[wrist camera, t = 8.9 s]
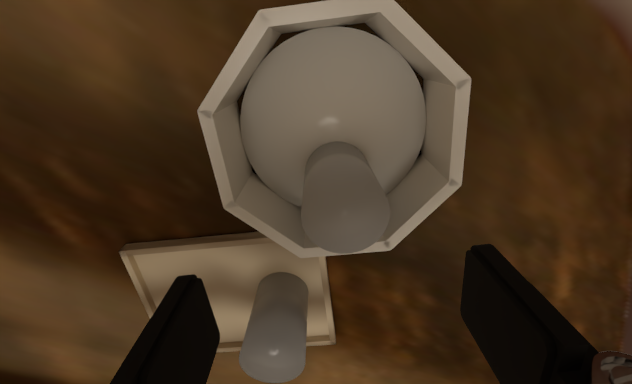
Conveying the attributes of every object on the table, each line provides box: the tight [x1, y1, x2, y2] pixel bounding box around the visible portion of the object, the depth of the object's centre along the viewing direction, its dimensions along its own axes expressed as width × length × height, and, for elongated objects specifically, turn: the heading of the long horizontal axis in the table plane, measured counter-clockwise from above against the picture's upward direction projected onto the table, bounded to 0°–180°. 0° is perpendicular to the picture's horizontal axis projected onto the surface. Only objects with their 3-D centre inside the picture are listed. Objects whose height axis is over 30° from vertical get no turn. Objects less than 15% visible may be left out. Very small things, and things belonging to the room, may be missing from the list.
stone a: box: [301, 141, 390, 254], centre depth 18 cm, size 4×4×6 cm
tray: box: [119, 232, 336, 352], centre depth 26 cm, size 12×16×1 cm
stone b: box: [239, 272, 309, 383], centre depth 23 cm, size 4×4×6 cm
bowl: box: [197, 0, 471, 258], centre depth 18 cm, size 13×13×5 cm
